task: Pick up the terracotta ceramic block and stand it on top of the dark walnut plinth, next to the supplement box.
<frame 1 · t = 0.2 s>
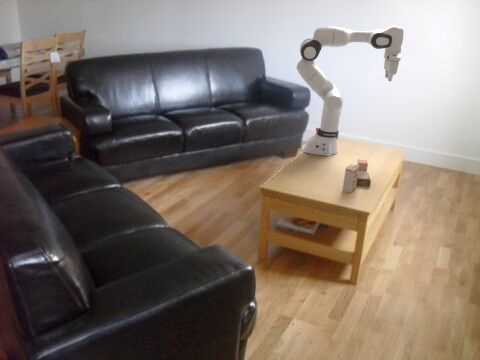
hand: (388, 79, 286), 48 cm above the table, fingers open, 8 cm apart
supplement box: (349, 190, 256), on the table
terracotta block: (361, 172, 278), on the table
plinth: (358, 181, 266), on the table
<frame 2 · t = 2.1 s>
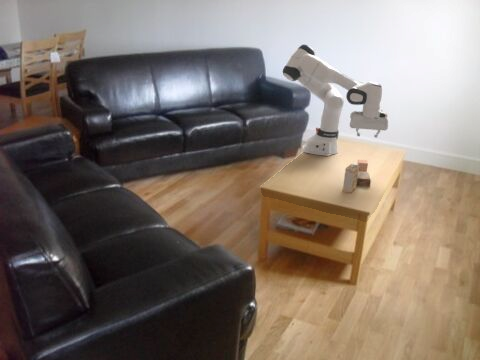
hand: (366, 136, 269), 22 cm above the table, fingers open, 8 cm apart
nothing on the table moved.
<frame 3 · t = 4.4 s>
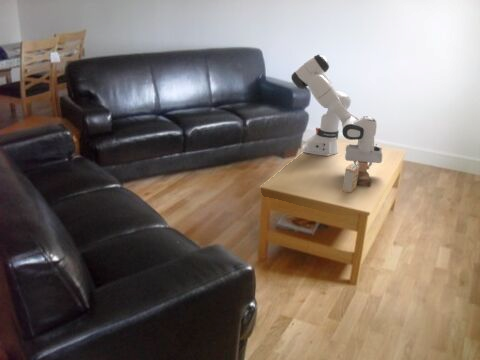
hand: (361, 168, 276), 3 cm above the table, fingers closed on terracotta block, 5 cm apart
terracotta block: (361, 172, 278), on the table, touching gripper
everything else where it was.
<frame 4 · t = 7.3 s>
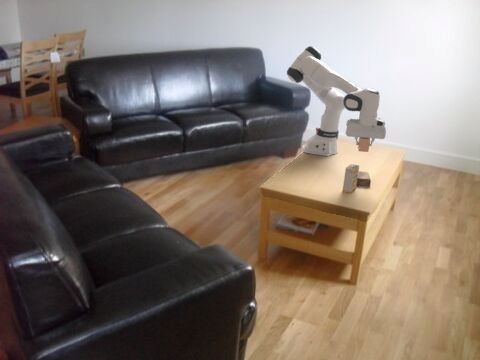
hand: (363, 145, 257), 21 cm above the table, fingers closed on terracotta block, 5 cm apart
terracotta block: (362, 150, 258), point 18 cm above the table, touching gripper
everything else where it was.
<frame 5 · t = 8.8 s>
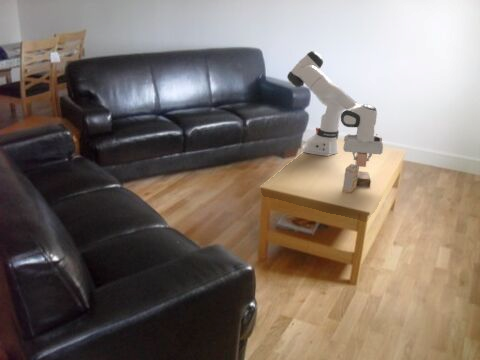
hand: (361, 160, 261), 13 cm above the table, fingers closed on terracotta block, 5 cm apart
terracotta block: (360, 164, 262), point 10 cm above the table, touching gripper
everything else where it was.
when the fingers open (8 cm above the table, at t = 10.2 s): terracotta block stays where it is, resting on plinth.
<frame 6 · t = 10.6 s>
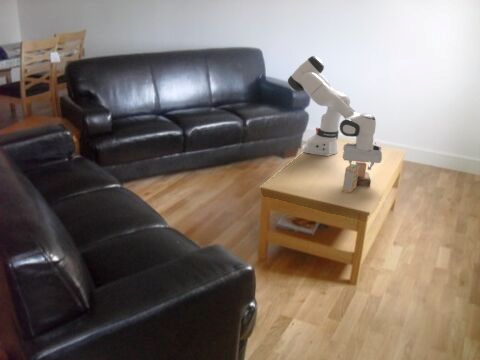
hand: (360, 168, 263), 8 cm above the table, fingers open, 8 cm apart
terracotta block: (359, 174, 264), point 4 cm above the table, touching plinth
everything else where it was.
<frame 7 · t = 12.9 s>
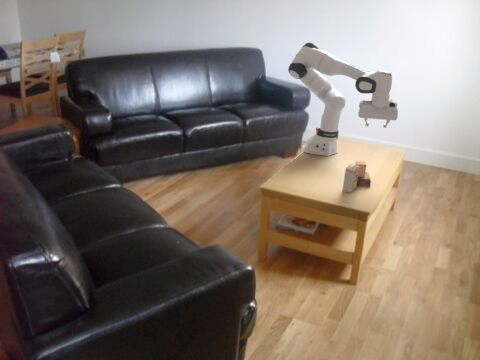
hand: (375, 126, 263), 29 cm above the table, fingers open, 8 cm apart
nothing on the table moved.
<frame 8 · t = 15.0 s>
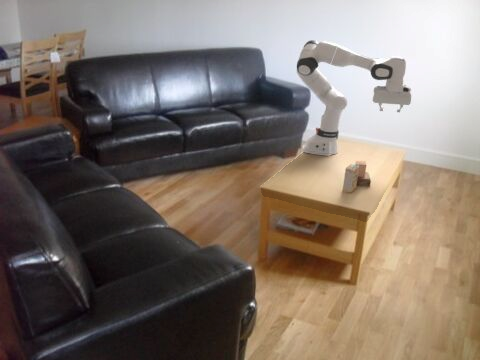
hand: (389, 111, 272), 34 cm above the table, fingers open, 8 cm apart
nothing on the table moved.
at the end: terracotta block inside the target area on the plinth (0.1 cm from its centre), point 4.0 cm above the plinth's base; terracotta block tilted 0°; the gripper is holding nothing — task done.
